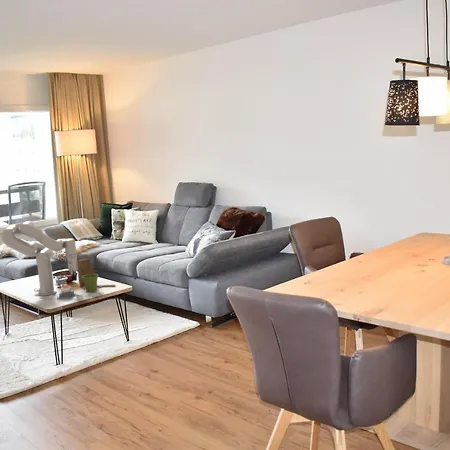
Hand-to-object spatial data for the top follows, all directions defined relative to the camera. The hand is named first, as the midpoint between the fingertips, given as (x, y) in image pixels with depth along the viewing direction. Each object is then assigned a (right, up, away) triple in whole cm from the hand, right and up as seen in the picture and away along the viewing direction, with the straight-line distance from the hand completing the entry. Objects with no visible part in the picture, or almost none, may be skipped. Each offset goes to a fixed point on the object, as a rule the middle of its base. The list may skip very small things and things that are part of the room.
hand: (74, 280), depth 393 cm
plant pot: (+12, -8, +1) cm, 14 cm away
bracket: (+20, -6, +11) cm, 23 cm away
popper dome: (-2, -9, -12) cm, 15 cm away
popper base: (-2, -10, -12) cm, 16 cm away
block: (+4, -5, +20) cm, 21 cm away
